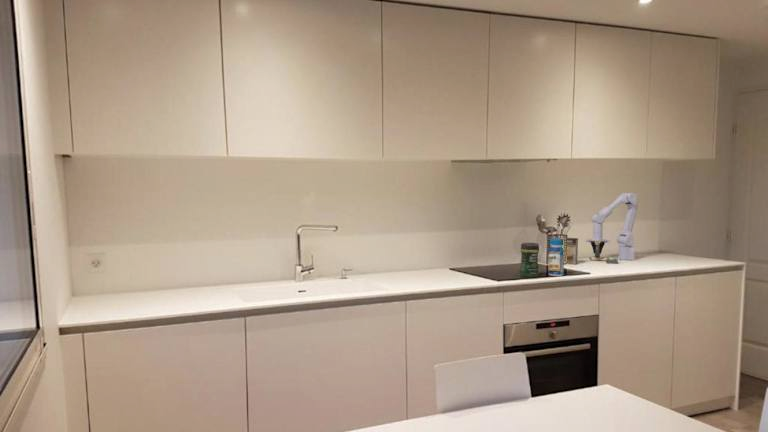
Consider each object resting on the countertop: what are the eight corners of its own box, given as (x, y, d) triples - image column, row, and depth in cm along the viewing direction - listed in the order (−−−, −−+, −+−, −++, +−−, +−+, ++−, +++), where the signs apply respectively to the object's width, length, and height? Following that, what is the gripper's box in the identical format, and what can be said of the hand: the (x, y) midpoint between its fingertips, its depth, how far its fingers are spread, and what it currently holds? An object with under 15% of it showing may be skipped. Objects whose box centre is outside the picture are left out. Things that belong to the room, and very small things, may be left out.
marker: (599, 257, 345) (600, 242, 344) (600, 257, 342) (600, 243, 341) (594, 256, 346) (594, 242, 345) (594, 257, 343) (595, 243, 342)
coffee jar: (525, 278, 281) (525, 243, 280) (517, 275, 289) (518, 242, 288) (541, 277, 284) (541, 243, 283) (533, 274, 291) (533, 241, 290)
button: (614, 261, 332) (614, 257, 332) (615, 261, 329) (615, 258, 329) (608, 260, 333) (608, 257, 333) (609, 261, 330) (609, 257, 330)
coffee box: (560, 263, 330) (560, 238, 329) (562, 262, 335) (563, 237, 334) (575, 264, 325) (576, 239, 324) (577, 263, 330) (578, 238, 329)
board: (608, 259, 346) (608, 257, 346) (610, 261, 337) (610, 259, 337) (589, 258, 350) (589, 257, 350) (590, 260, 340) (590, 259, 340)
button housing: (616, 262, 333) (616, 258, 333) (617, 263, 327) (617, 260, 327) (606, 261, 335) (606, 258, 335) (607, 263, 329) (607, 259, 329)
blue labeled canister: (566, 275, 287) (567, 239, 285) (552, 276, 285) (553, 240, 284) (558, 273, 295) (559, 238, 294) (545, 273, 293) (545, 238, 292)
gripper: (586, 233, 341) (586, 253, 342) (610, 233, 337) (609, 254, 338) (585, 232, 348) (585, 252, 349) (609, 232, 344) (608, 253, 344)
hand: (597, 253), depth 344 cm, fingers closed on marker, 3 cm apart
